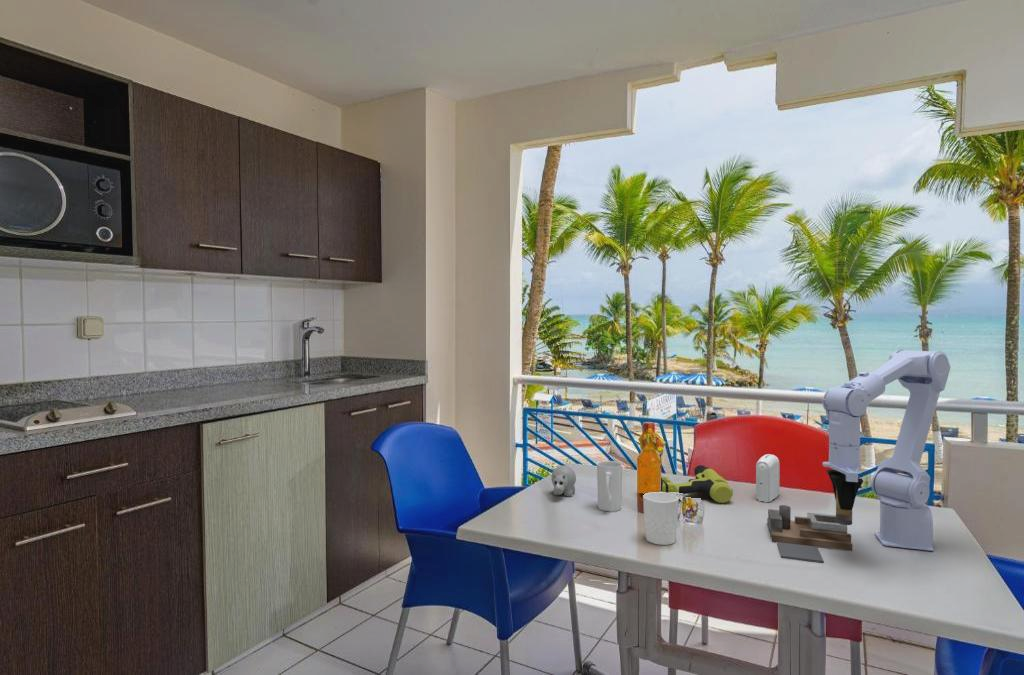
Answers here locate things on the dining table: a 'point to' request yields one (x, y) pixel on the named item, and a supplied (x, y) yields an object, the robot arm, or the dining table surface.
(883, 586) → the dining table surface
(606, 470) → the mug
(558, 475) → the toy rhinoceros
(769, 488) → the photo printer
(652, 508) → the white cup
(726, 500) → the cordless drill
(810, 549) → the pad
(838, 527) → the grey square frame
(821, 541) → the chuck base
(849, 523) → the wooden square peg
